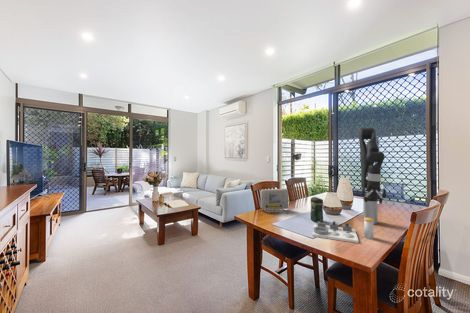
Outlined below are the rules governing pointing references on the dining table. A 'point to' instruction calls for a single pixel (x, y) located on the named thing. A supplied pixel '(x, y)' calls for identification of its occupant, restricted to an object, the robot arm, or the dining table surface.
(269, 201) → the network device
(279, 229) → the dining table surface
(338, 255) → the dining table surface
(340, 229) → the panel
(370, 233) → the post
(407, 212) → the dining table surface
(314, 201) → the coffee jar
